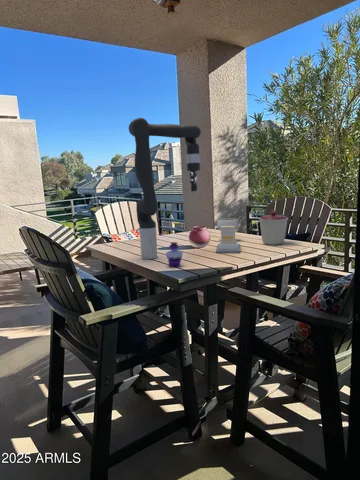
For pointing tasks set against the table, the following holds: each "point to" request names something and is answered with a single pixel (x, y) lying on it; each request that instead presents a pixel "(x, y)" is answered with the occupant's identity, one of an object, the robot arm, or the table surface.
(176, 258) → the potion bottle
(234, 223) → the chalice
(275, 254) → the table surface
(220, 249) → the grey pedestal stand
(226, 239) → the supplement box
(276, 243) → the canister
